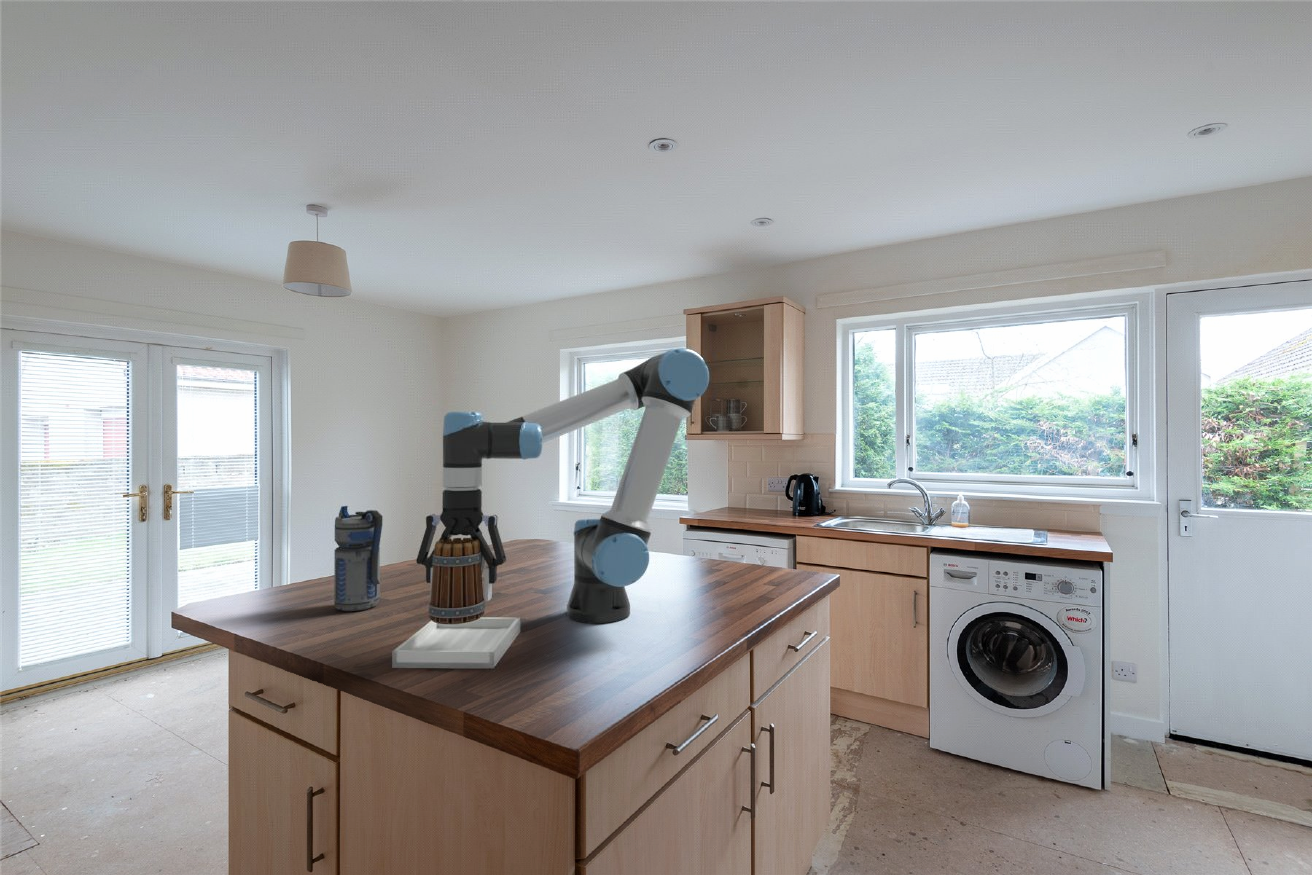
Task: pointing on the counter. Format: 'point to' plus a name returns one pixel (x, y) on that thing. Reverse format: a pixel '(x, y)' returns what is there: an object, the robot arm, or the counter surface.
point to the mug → (457, 582)
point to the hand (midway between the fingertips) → (461, 599)
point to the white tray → (458, 644)
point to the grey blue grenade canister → (357, 560)
